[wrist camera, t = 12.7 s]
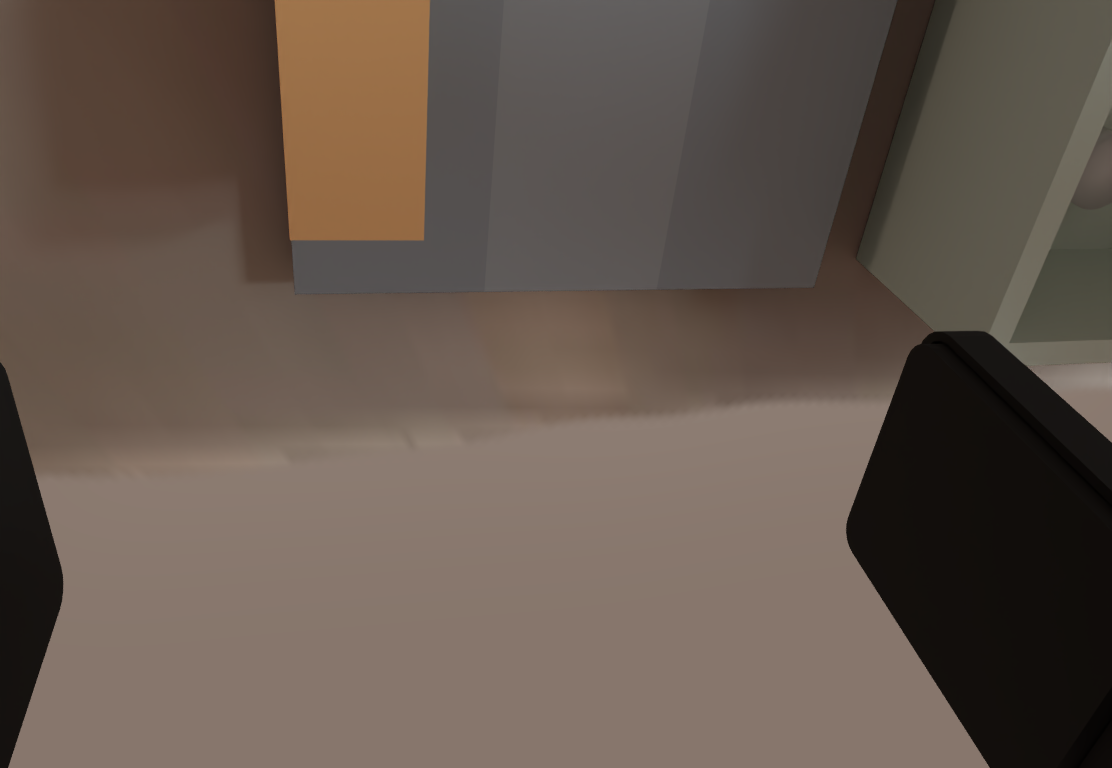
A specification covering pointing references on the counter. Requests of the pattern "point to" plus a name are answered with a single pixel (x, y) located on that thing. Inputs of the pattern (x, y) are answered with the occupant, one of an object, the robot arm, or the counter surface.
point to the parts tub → (1005, 179)
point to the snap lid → (569, 141)
